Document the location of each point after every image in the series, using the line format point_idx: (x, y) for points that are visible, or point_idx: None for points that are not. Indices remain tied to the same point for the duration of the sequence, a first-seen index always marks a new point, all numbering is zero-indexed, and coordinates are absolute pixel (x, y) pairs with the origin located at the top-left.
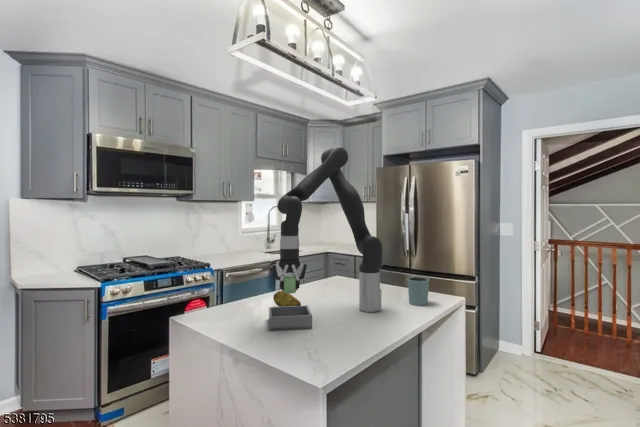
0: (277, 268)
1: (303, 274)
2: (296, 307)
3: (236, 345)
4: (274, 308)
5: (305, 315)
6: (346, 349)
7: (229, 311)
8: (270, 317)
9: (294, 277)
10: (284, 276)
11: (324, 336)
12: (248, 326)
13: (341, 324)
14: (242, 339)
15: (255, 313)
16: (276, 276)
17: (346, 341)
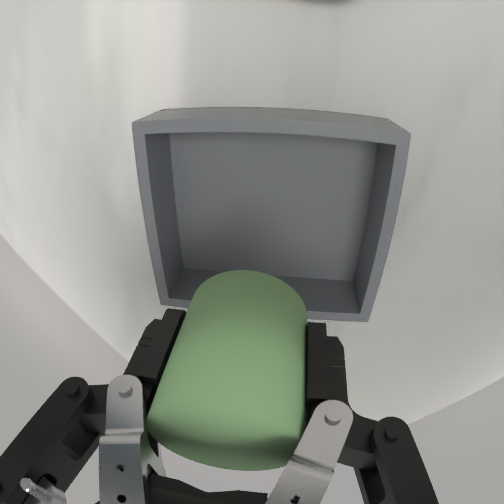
0: (60, 499)
1: (380, 488)
2: (327, 135)
3: (110, 342)
4: (169, 131)
5: (336, 318)
6: (379, 409)
7: (4, 2)
8: (164, 304)
9: (277, 464)
10: (154, 418)
11: (369, 350)
12: (90, 202)
13: (481, 262)
14: (110, 313)
15: (94, 8)
16: (87, 437)
17: (406, 381)
